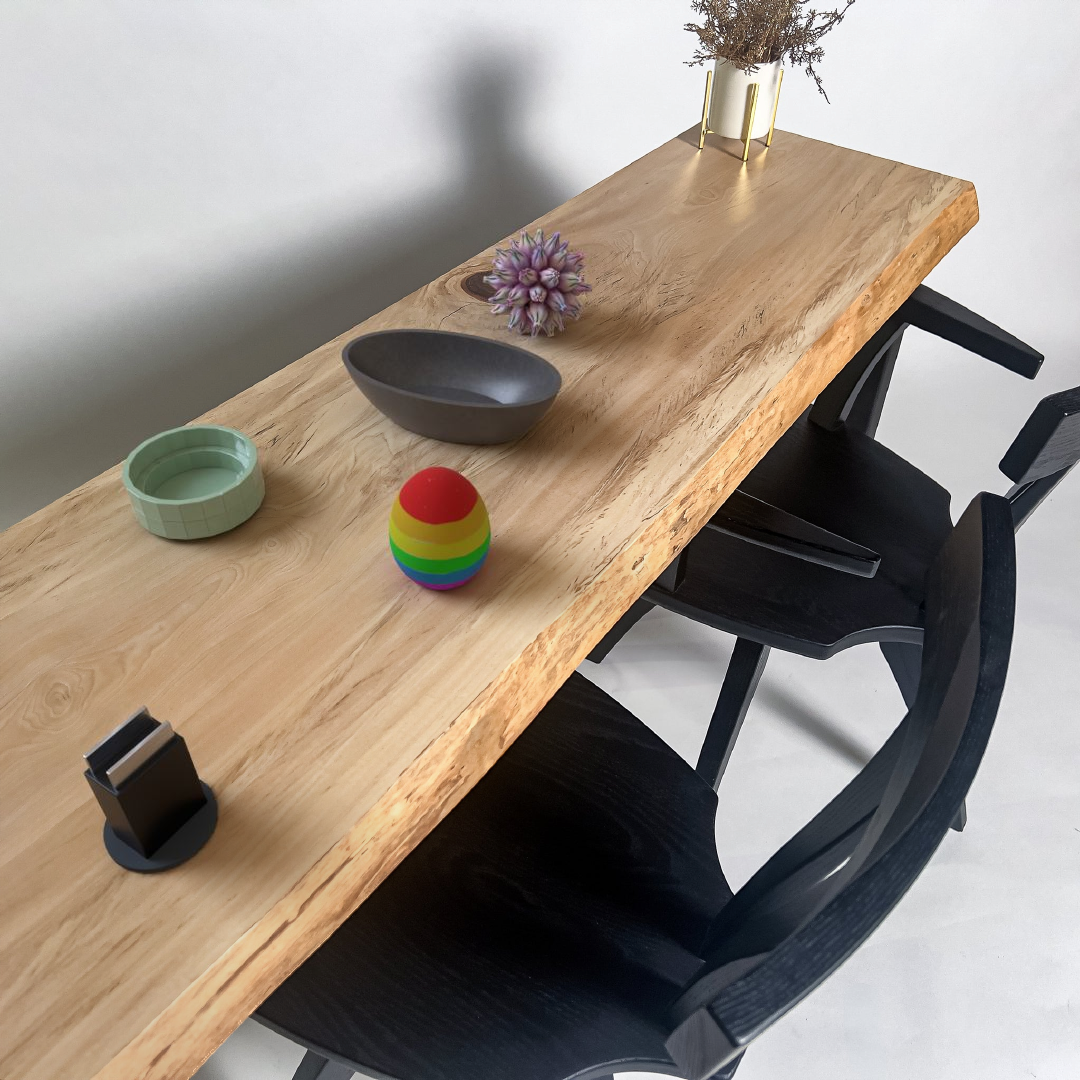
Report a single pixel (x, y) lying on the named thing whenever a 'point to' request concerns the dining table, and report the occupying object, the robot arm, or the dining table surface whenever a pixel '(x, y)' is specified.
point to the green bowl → (194, 481)
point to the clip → (144, 781)
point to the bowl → (452, 383)
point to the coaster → (175, 848)
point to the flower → (537, 283)
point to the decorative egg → (439, 529)
